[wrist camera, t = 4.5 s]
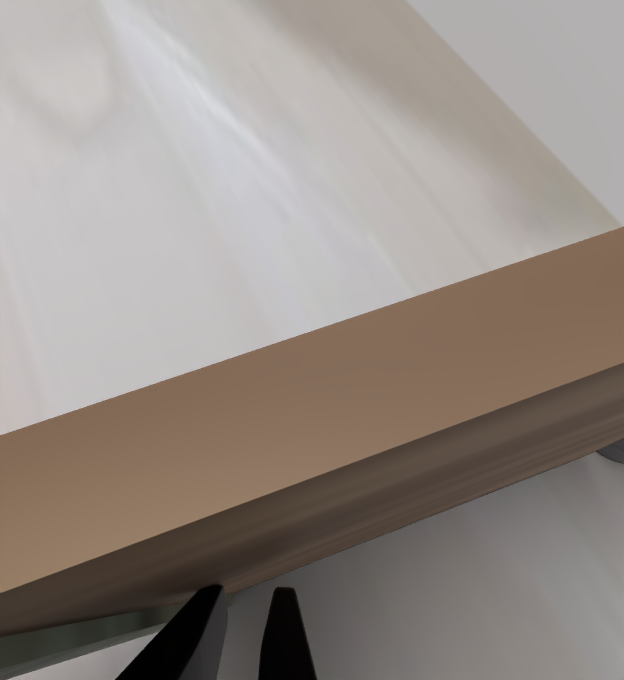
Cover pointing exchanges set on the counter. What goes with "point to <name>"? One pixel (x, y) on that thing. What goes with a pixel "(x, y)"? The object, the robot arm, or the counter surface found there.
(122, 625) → the gate
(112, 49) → the counter surface
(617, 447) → the gate post
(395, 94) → the counter surface
